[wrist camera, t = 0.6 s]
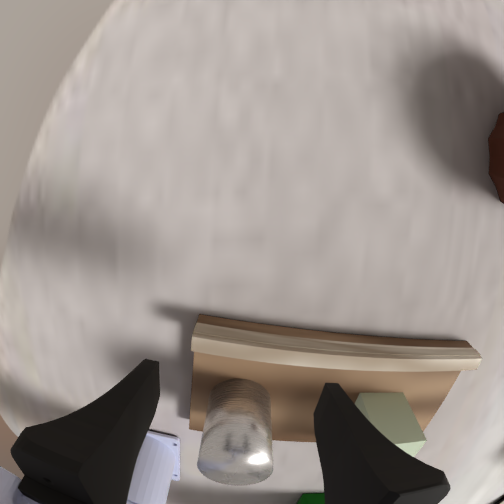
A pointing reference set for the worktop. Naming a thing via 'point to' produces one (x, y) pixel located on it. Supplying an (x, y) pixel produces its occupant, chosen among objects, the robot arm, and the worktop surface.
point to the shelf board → (320, 369)
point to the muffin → (497, 156)
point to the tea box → (393, 419)
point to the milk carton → (312, 498)
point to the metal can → (237, 434)
